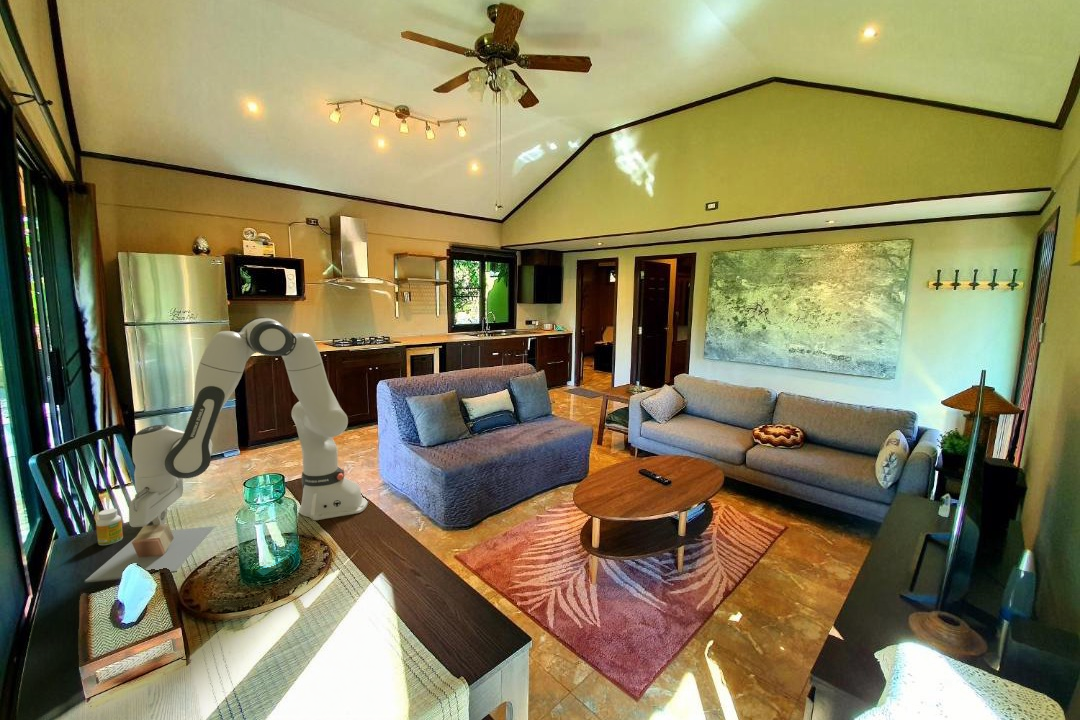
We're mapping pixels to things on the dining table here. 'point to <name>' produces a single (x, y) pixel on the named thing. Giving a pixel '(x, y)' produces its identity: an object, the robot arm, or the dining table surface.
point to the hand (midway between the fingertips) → (159, 525)
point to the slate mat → (171, 559)
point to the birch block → (153, 540)
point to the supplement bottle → (109, 527)
